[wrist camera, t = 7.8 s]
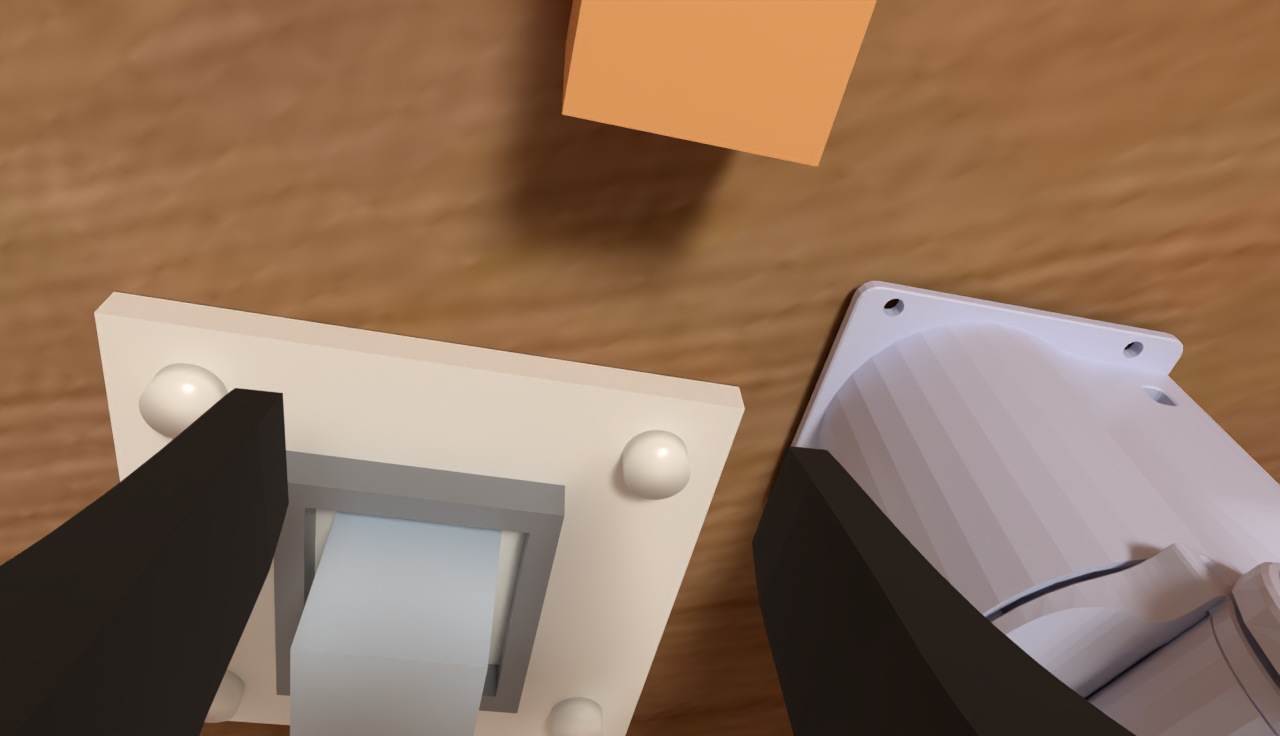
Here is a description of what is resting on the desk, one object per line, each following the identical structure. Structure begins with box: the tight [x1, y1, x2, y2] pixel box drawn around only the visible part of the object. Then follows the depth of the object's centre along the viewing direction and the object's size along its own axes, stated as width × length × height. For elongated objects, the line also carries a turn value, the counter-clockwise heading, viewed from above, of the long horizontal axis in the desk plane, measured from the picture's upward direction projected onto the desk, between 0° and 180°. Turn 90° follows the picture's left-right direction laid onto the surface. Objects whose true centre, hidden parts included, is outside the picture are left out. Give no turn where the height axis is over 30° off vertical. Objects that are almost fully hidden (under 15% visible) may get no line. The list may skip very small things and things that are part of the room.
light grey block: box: [290, 511, 502, 736], centre depth 23 cm, size 4×6×5 cm
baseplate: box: [94, 292, 745, 736], centre depth 25 cm, size 16×16×2 cm
